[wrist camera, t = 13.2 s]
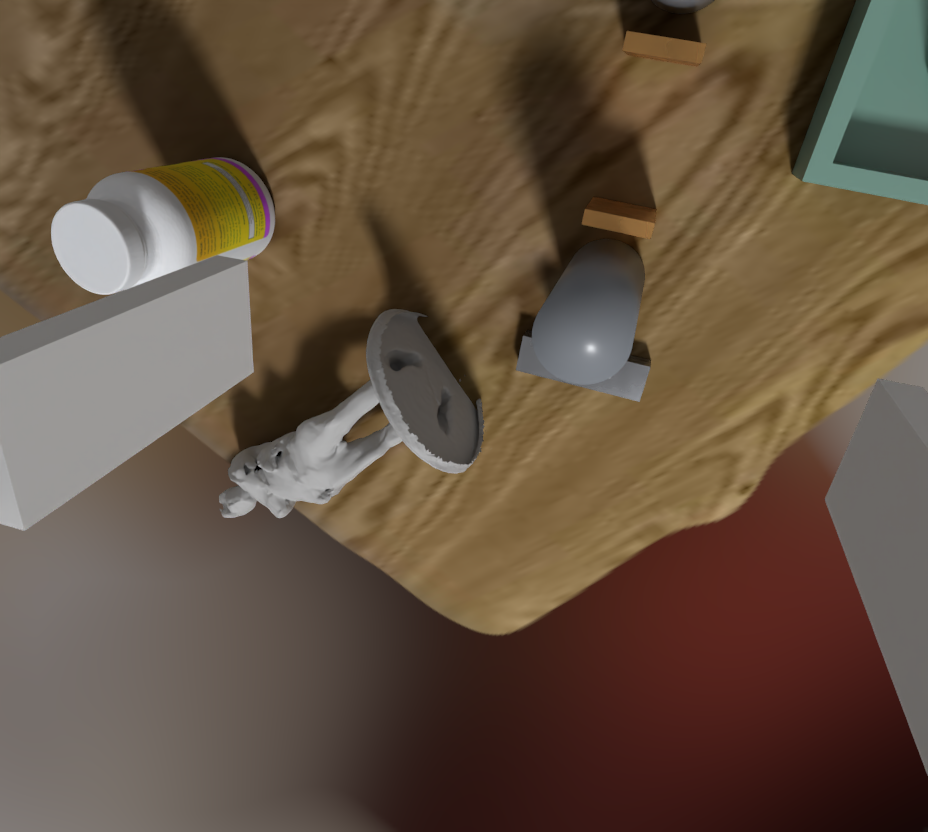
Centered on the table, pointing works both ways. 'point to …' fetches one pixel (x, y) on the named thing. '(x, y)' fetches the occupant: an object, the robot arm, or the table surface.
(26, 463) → the robot arm
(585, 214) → the fuse rack
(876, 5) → the tray
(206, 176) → the supplement bottle
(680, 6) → the cylinder
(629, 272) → the cylinder
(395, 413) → the male figure
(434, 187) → the table surface
